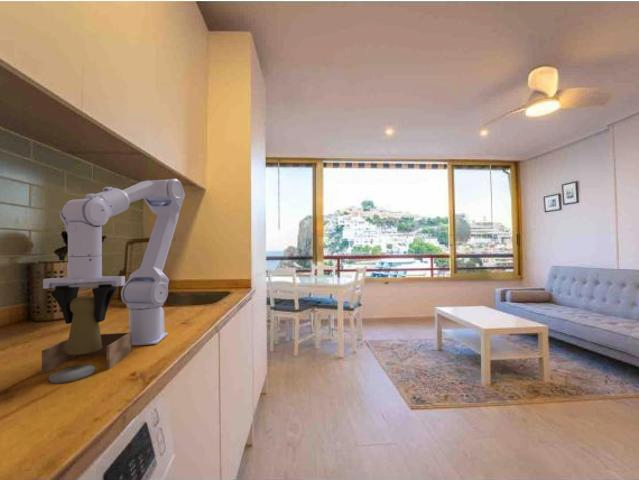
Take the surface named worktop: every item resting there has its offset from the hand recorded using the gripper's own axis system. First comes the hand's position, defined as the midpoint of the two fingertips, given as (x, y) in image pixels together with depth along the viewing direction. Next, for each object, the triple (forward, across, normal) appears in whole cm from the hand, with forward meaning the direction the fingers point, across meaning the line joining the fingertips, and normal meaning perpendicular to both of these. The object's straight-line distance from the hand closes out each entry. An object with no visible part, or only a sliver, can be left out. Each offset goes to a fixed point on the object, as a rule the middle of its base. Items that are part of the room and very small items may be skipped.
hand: (85, 321), depth 66 cm
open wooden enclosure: (+9, 0, +2) cm, 9 cm away
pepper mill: (+6, 0, 0) cm, 6 cm away
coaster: (+9, 0, -5) cm, 10 cm away
